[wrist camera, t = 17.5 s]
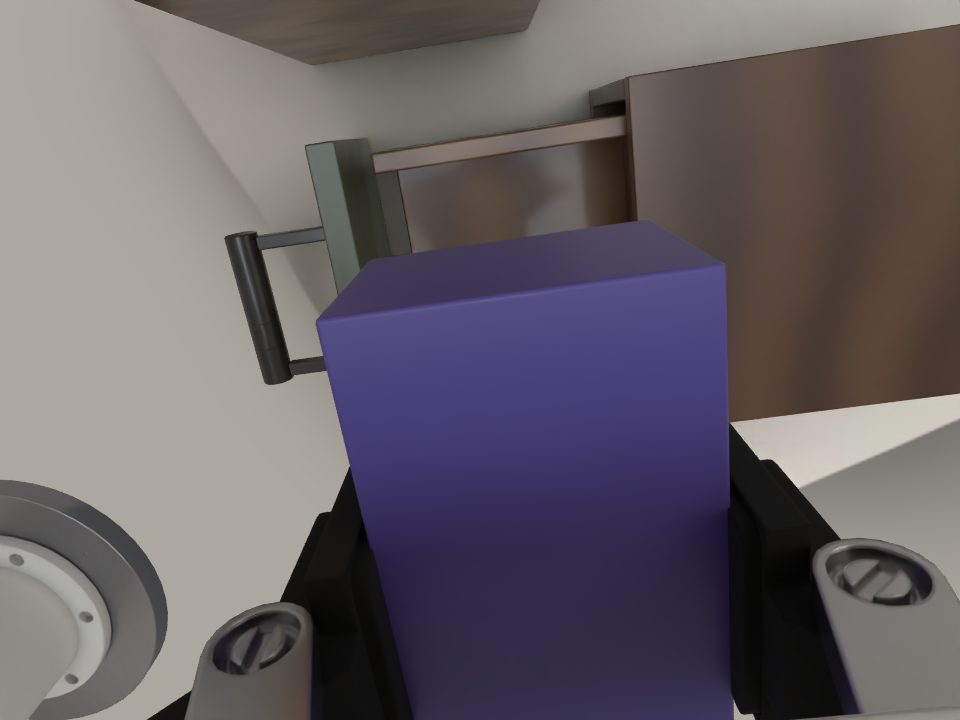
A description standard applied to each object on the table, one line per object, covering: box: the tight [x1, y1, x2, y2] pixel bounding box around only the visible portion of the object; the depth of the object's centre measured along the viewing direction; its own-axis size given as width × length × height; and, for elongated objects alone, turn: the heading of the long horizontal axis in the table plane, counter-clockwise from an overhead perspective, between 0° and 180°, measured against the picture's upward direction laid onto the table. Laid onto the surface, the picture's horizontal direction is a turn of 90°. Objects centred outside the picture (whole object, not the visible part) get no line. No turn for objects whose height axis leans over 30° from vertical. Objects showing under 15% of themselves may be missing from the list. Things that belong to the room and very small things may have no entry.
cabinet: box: [589, 24, 960, 422], centre depth 30 cm, size 16×15×10 cm
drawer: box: [224, 113, 633, 385], centre depth 31 cm, size 19×13×8 cm
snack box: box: [316, 220, 734, 720], centre depth 10 cm, size 4×9×4 cm, turn 8°
